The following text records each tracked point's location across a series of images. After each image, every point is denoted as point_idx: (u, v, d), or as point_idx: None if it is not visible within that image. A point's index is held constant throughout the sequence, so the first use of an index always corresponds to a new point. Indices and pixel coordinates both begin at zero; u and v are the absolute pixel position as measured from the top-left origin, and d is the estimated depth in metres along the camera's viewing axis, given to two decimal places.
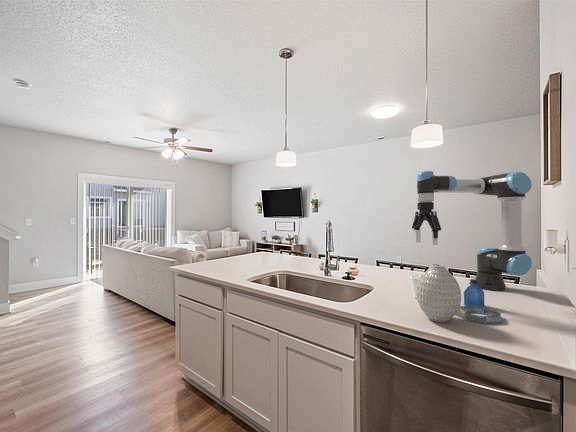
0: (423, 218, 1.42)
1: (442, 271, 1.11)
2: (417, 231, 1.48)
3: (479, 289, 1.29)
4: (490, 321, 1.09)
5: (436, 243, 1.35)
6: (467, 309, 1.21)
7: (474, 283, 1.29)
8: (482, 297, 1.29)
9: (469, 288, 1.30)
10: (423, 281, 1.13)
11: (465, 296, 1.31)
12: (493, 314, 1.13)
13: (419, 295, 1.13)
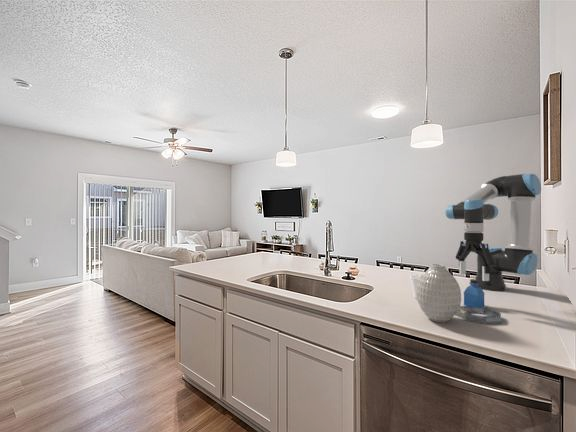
0: (471, 250, 1.31)
1: (442, 271, 1.11)
2: (462, 262, 1.37)
3: (479, 289, 1.29)
4: (490, 321, 1.09)
5: (488, 279, 1.24)
6: (467, 309, 1.21)
7: (474, 283, 1.29)
8: (482, 297, 1.29)
9: (469, 288, 1.30)
10: (423, 281, 1.13)
11: (465, 296, 1.31)
12: (493, 314, 1.13)
13: (419, 295, 1.13)
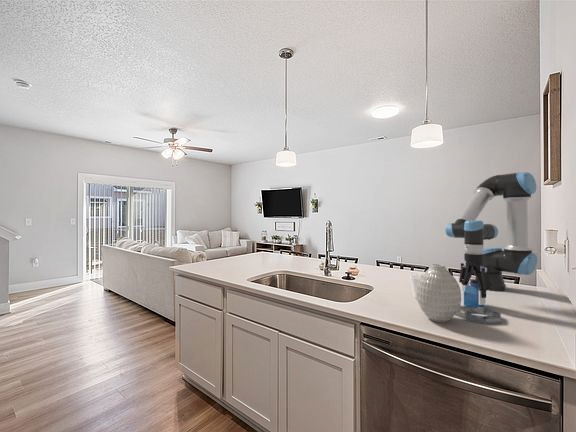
0: (471, 271, 1.31)
1: (442, 271, 1.11)
2: (466, 286, 1.35)
3: (479, 289, 1.29)
4: (490, 321, 1.09)
5: (484, 303, 1.26)
6: (467, 309, 1.21)
7: (474, 283, 1.29)
8: None
9: (469, 288, 1.30)
10: (423, 281, 1.13)
11: (465, 296, 1.31)
12: (493, 314, 1.13)
13: (419, 295, 1.13)
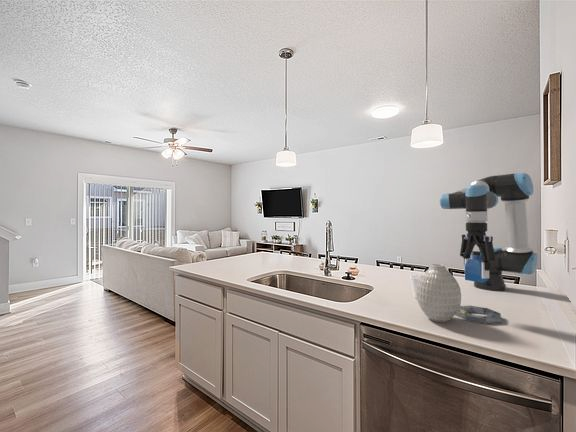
0: (473, 241, 1.17)
1: (442, 271, 1.11)
2: None
3: None
4: (490, 321, 1.09)
5: (488, 276, 1.12)
6: (467, 309, 1.21)
7: (476, 255, 1.16)
8: None
9: (471, 261, 1.17)
10: (423, 281, 1.13)
11: (466, 270, 1.17)
12: (493, 314, 1.13)
13: (419, 295, 1.13)
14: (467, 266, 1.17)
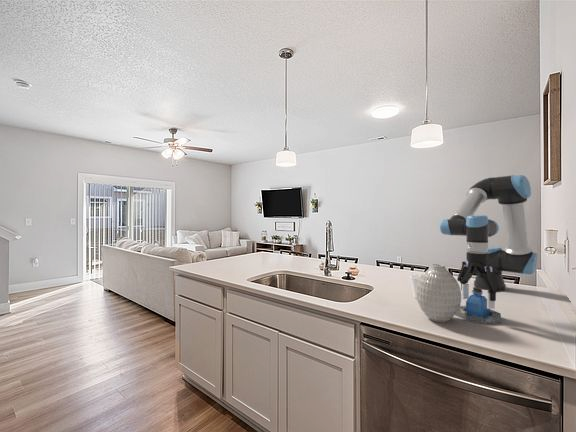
0: (474, 272, 1.16)
1: (442, 271, 1.11)
2: (465, 285, 1.23)
3: (483, 298, 1.15)
4: (490, 321, 1.09)
5: (493, 306, 1.10)
6: None
7: (477, 292, 1.15)
8: (486, 308, 1.14)
9: (472, 297, 1.16)
10: (423, 281, 1.13)
11: (467, 306, 1.17)
12: (493, 314, 1.13)
13: (419, 295, 1.13)
14: (468, 303, 1.17)
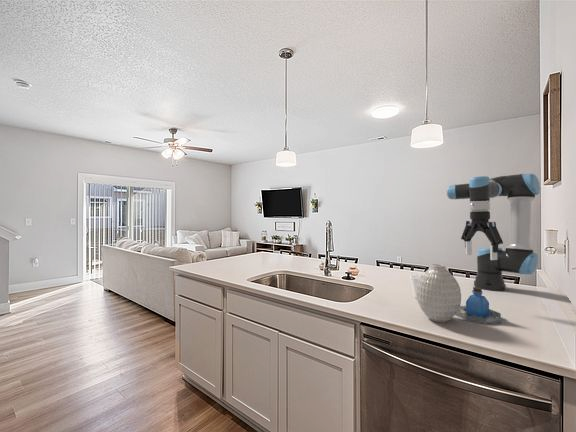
0: (477, 229, 1.27)
1: (442, 271, 1.11)
2: (468, 243, 1.33)
3: (483, 298, 1.15)
4: (490, 321, 1.09)
5: (496, 258, 1.20)
6: None
7: (477, 292, 1.15)
8: (486, 308, 1.14)
9: (472, 297, 1.16)
10: (423, 281, 1.13)
11: (467, 306, 1.17)
12: (493, 314, 1.13)
13: (419, 295, 1.13)
14: (468, 303, 1.17)
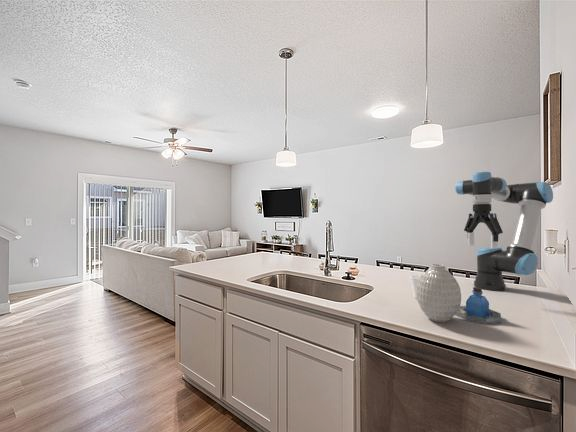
0: (479, 220, 1.37)
1: (442, 271, 1.11)
2: (471, 234, 1.43)
3: (483, 298, 1.15)
4: (490, 321, 1.09)
5: (496, 246, 1.30)
6: None
7: (477, 292, 1.15)
8: (486, 308, 1.14)
9: (472, 297, 1.16)
10: (423, 281, 1.13)
11: (467, 306, 1.17)
12: (493, 314, 1.13)
13: (419, 295, 1.13)
14: (468, 303, 1.17)
